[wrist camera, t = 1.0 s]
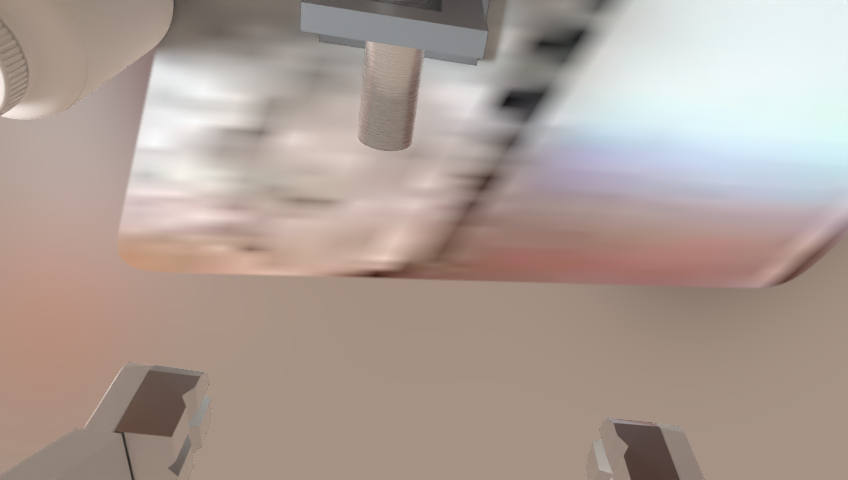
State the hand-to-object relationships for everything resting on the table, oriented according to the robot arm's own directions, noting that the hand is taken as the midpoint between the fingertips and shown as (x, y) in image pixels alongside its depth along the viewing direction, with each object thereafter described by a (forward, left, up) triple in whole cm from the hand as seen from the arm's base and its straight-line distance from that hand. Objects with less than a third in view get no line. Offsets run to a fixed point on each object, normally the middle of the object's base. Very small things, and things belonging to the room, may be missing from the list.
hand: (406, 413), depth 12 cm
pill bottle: (+1, -20, -30) cm, 36 cm away
